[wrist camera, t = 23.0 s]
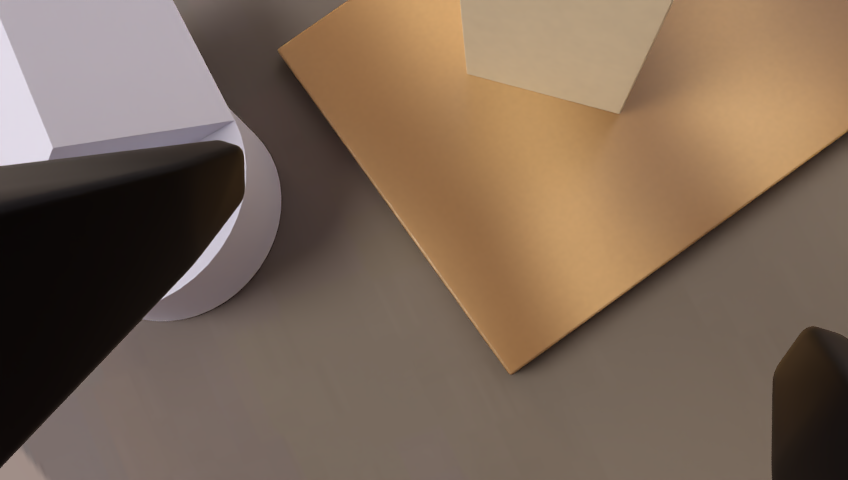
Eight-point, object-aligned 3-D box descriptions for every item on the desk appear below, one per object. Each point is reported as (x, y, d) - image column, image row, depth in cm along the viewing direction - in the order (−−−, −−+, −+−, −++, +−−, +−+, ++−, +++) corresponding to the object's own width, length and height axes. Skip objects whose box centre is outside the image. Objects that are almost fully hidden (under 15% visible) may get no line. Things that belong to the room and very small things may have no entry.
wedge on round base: (15, 104, 26) (117, 364, 22) (-148, 13, 19) (-37, 359, 16) (190, 3, 26) (319, 247, 22) (88, -122, 19) (246, 195, 16)
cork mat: (510, 376, 21) (510, 375, 20) (283, 59, 25) (276, 48, 24) (951, 56, 21) (968, 44, 20) (659, -201, 25) (664, -220, 24)
